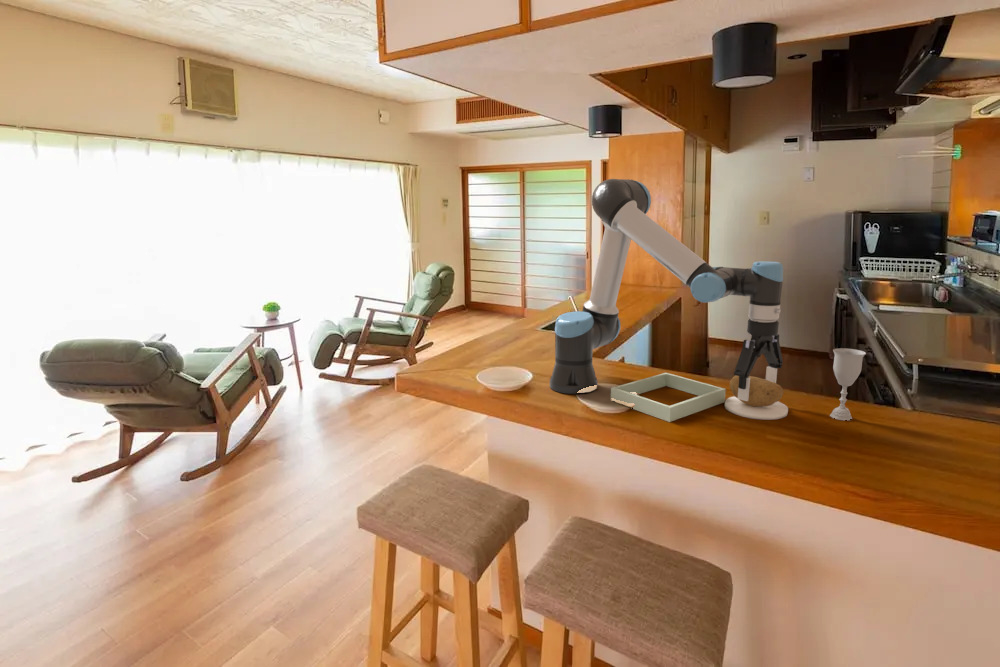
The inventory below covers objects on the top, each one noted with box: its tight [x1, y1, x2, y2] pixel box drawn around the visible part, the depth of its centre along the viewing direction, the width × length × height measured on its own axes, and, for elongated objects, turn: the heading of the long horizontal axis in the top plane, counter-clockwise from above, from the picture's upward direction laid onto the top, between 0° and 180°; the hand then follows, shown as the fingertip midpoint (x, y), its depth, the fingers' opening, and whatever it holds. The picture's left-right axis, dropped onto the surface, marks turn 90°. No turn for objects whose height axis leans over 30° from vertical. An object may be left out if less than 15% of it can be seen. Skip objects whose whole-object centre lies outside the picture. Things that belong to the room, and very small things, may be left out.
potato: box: [729, 375, 784, 406], centre depth 152 cm, size 10×14×8 cm
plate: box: [724, 395, 789, 421], centre depth 153 cm, size 16×16×1 cm
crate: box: [610, 372, 727, 423], centre depth 160 cm, size 21×25×4 cm
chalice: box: [829, 347, 867, 421], centre depth 144 cm, size 7×7×18 cm
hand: (756, 394), depth 152 cm, fingers open, 13 cm apart
